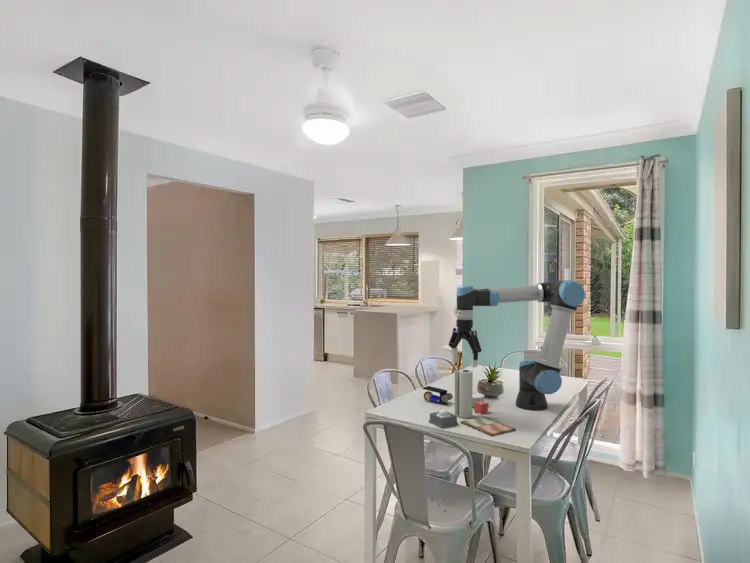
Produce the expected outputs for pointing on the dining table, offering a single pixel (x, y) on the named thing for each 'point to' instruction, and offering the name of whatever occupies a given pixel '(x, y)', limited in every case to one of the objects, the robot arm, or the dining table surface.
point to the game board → (488, 426)
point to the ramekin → (477, 398)
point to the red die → (481, 407)
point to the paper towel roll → (463, 393)
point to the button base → (443, 420)
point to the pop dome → (443, 413)
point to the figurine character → (442, 398)
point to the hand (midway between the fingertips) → (464, 364)
